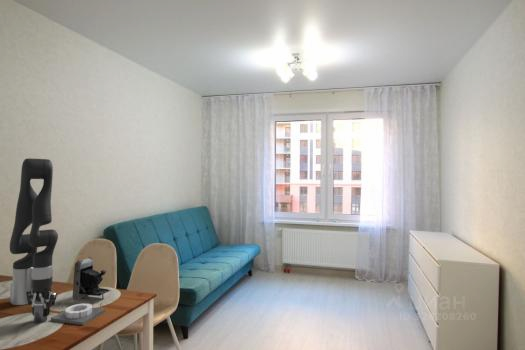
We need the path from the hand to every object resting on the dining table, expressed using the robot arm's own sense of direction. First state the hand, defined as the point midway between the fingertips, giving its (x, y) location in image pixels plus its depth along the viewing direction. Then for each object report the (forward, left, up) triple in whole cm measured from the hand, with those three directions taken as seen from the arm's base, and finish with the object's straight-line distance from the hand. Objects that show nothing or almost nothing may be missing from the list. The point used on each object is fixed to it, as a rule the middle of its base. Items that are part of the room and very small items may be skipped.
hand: (40, 315), depth 140 cm
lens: (0, 0, -2) cm, 2 cm away
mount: (+12, +8, -2) cm, 15 cm away
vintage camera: (+3, +28, -3) cm, 28 cm away
